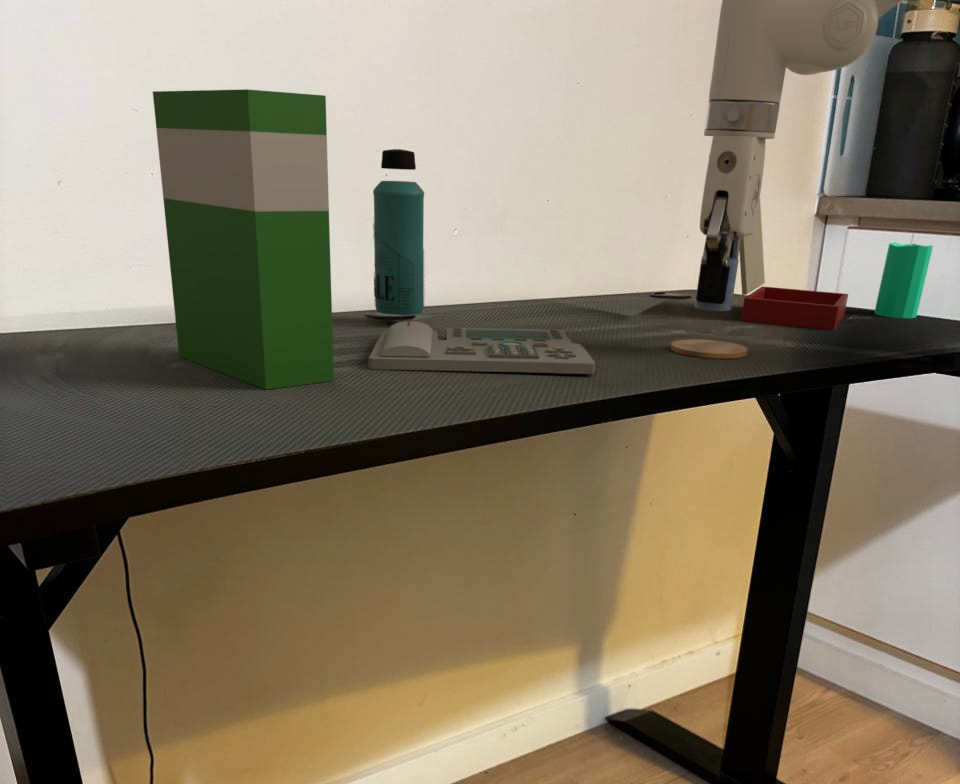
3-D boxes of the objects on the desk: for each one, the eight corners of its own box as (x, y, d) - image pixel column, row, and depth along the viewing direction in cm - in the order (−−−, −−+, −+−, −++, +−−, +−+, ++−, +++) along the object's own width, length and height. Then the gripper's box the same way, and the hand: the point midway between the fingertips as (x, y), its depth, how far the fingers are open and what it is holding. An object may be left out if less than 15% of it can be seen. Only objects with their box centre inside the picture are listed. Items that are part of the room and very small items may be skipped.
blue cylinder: (733, 308, 114) (741, 258, 111) (727, 312, 110) (735, 261, 108) (698, 304, 115) (705, 255, 113) (691, 308, 112) (698, 257, 109)
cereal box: (179, 356, 100) (152, 91, 89) (243, 349, 104) (225, 96, 94) (265, 389, 88) (247, 89, 78) (333, 380, 93) (325, 95, 82)
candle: (921, 323, 142) (942, 235, 136) (881, 321, 142) (900, 233, 136) (906, 317, 147) (925, 232, 142) (867, 315, 147) (885, 230, 142)
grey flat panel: (759, 187, 139) (754, 188, 139) (740, 189, 126) (735, 190, 127) (764, 283, 144) (760, 283, 144) (747, 294, 131) (742, 295, 132)
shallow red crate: (843, 320, 142) (848, 293, 140) (832, 335, 129) (838, 306, 127) (757, 312, 146) (762, 286, 144) (739, 325, 133) (744, 297, 132)
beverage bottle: (432, 321, 126) (434, 150, 117) (412, 329, 120) (413, 150, 111) (386, 317, 128) (385, 148, 119) (364, 324, 122) (362, 147, 113)
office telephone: (367, 345, 97) (380, 313, 115) (368, 371, 98) (380, 336, 116) (597, 350, 98) (574, 318, 116) (594, 376, 99) (572, 340, 117)
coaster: (752, 349, 117) (753, 344, 117) (739, 361, 110) (740, 356, 109) (679, 341, 120) (680, 336, 120) (662, 353, 113) (662, 347, 112)
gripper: (764, 120, 96) (733, 312, 104) (787, 126, 109) (758, 295, 118) (689, 117, 98) (665, 305, 107) (721, 124, 112) (697, 289, 120)
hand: (714, 298), depth 112 cm, fingers closed on blue cylinder, 4 cm apart
